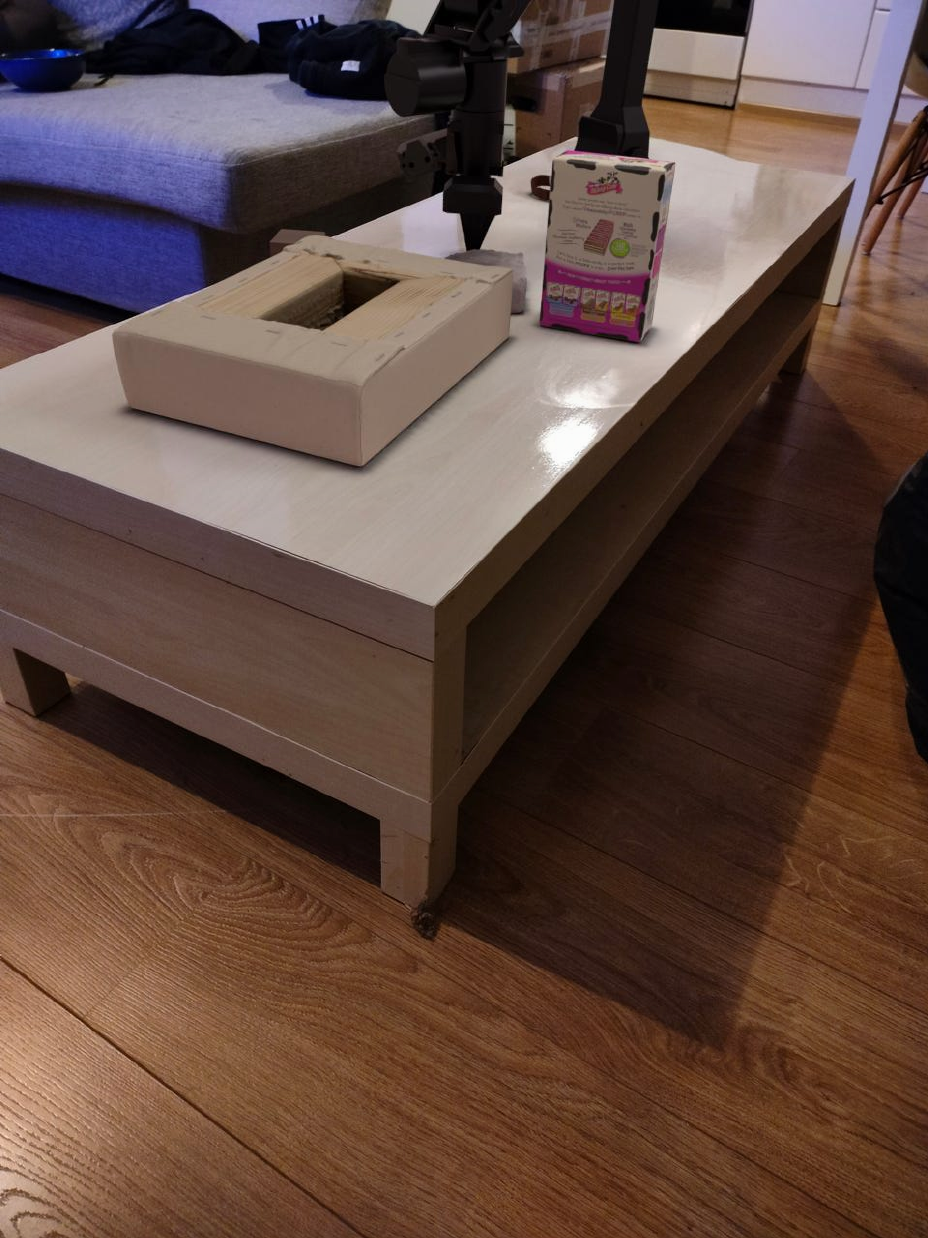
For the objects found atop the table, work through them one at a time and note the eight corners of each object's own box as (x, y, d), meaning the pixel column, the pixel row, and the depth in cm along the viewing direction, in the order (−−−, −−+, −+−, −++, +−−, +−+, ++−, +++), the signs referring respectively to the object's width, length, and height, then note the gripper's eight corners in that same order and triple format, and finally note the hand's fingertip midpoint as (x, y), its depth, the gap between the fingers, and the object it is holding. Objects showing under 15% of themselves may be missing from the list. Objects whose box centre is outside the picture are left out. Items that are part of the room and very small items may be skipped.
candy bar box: (652, 328, 102) (679, 160, 92) (641, 344, 98) (667, 171, 88) (551, 310, 105) (566, 146, 95) (536, 325, 101) (551, 156, 92)
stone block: (441, 328, 104) (533, 312, 104) (433, 283, 102) (527, 267, 101) (442, 294, 114) (526, 280, 113) (435, 253, 111) (521, 238, 111)
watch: (582, 200, 143) (585, 174, 140) (563, 206, 140) (565, 179, 137) (541, 190, 146) (543, 164, 144) (521, 195, 144) (523, 169, 141)
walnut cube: (284, 273, 112) (281, 228, 109) (327, 276, 111) (325, 231, 108) (272, 287, 108) (269, 241, 105) (316, 291, 107) (314, 244, 104)
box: (313, 299, 106) (121, 409, 82) (310, 225, 101) (105, 320, 77) (511, 340, 99) (365, 474, 75) (517, 263, 95) (364, 380, 71)
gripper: (409, 86, 110) (409, 228, 120) (393, 122, 95) (394, 281, 105) (507, 91, 110) (499, 233, 119) (506, 128, 95) (497, 286, 105)
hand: (471, 256), depth 112 cm, fingers closed
